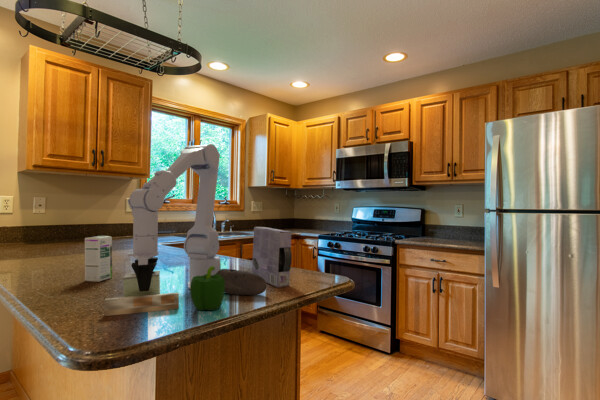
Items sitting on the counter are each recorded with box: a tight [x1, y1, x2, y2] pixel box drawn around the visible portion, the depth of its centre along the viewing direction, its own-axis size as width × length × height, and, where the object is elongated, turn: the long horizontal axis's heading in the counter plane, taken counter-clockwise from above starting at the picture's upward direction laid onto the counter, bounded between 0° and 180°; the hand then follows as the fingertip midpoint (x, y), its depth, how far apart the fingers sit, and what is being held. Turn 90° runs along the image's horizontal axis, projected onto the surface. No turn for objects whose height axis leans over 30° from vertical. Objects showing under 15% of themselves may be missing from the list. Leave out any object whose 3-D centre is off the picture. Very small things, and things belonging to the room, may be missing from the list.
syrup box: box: [84, 235, 113, 283], centre depth 113 cm, size 6×6×14 cm
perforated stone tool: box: [216, 268, 268, 296], centre depth 96 cm, size 15×5×7 cm, turn 75°
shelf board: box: [104, 292, 180, 317], centre depth 85 cm, size 16×11×4 cm
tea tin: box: [122, 270, 161, 297], centre depth 86 cm, size 8×5×6 cm, turn 110°
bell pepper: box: [190, 266, 225, 311], centre depth 83 cm, size 8×8×10 cm
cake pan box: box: [251, 226, 293, 289], centre depth 112 cm, size 19×5×18 cm, turn 34°
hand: (145, 288), depth 86 cm, fingers closed on tea tin, 4 cm apart
